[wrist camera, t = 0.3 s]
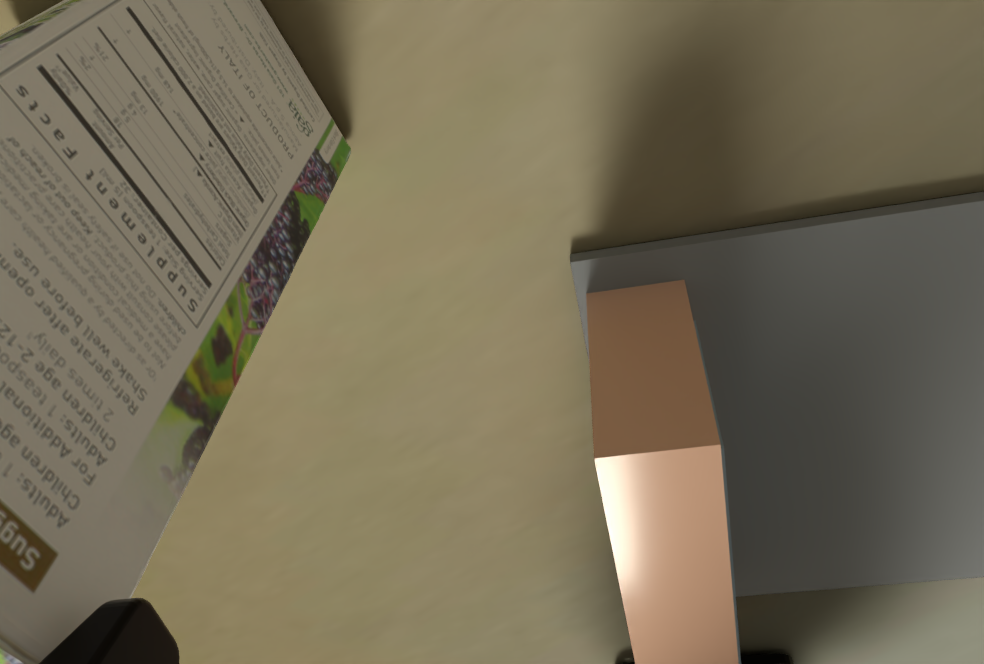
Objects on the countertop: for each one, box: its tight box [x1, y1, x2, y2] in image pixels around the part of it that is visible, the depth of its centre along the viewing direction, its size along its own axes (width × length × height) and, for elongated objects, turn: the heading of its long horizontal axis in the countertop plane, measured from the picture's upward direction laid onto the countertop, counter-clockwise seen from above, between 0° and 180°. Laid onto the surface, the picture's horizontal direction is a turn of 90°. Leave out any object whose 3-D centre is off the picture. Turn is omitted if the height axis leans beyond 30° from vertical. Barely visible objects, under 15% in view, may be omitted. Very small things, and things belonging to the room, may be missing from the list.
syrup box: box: [0, 0, 351, 664], centre depth 14 cm, size 6×6×14 cm
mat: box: [570, 192, 984, 597], centre depth 25 cm, size 14×12×1 cm
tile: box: [586, 280, 741, 664], centre depth 23 cm, size 12×3×6 cm, turn 12°
